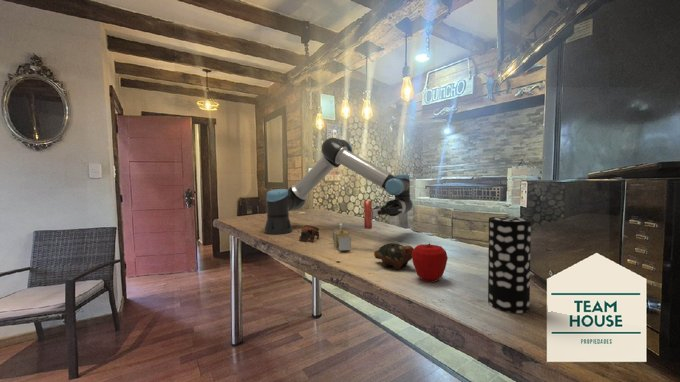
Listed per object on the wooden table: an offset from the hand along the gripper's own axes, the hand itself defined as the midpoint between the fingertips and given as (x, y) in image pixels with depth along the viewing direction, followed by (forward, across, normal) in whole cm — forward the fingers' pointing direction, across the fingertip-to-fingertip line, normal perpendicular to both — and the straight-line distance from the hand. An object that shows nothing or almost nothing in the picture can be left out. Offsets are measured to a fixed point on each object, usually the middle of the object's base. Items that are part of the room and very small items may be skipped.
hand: (372, 213), depth 118 cm
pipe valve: (+2, +14, -15) cm, 21 cm away
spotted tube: (+30, -49, -16) cm, 59 cm away
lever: (+2, +8, -6) cm, 10 cm away
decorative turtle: (+16, -15, -15) cm, 27 cm away
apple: (+22, -29, -15) cm, 39 cm away
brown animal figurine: (-2, +35, -15) cm, 38 cm away
